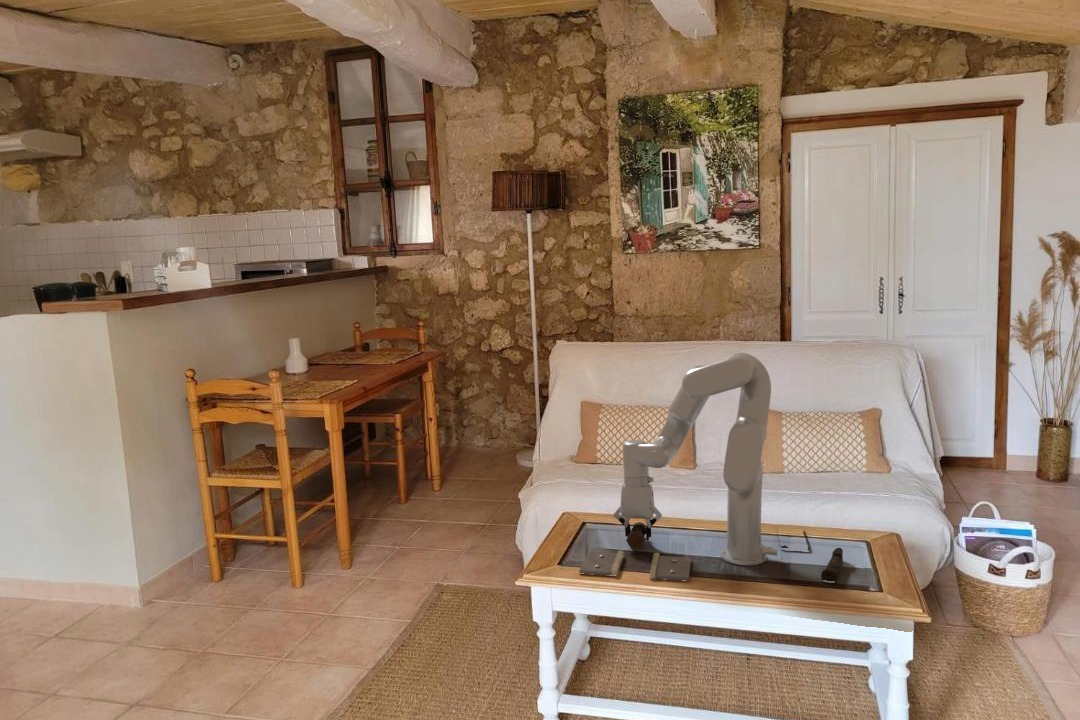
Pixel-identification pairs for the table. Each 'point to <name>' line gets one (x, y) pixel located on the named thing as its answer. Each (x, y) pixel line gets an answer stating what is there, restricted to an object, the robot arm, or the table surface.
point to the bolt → (637, 536)
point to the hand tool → (833, 566)
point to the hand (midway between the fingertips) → (638, 538)
